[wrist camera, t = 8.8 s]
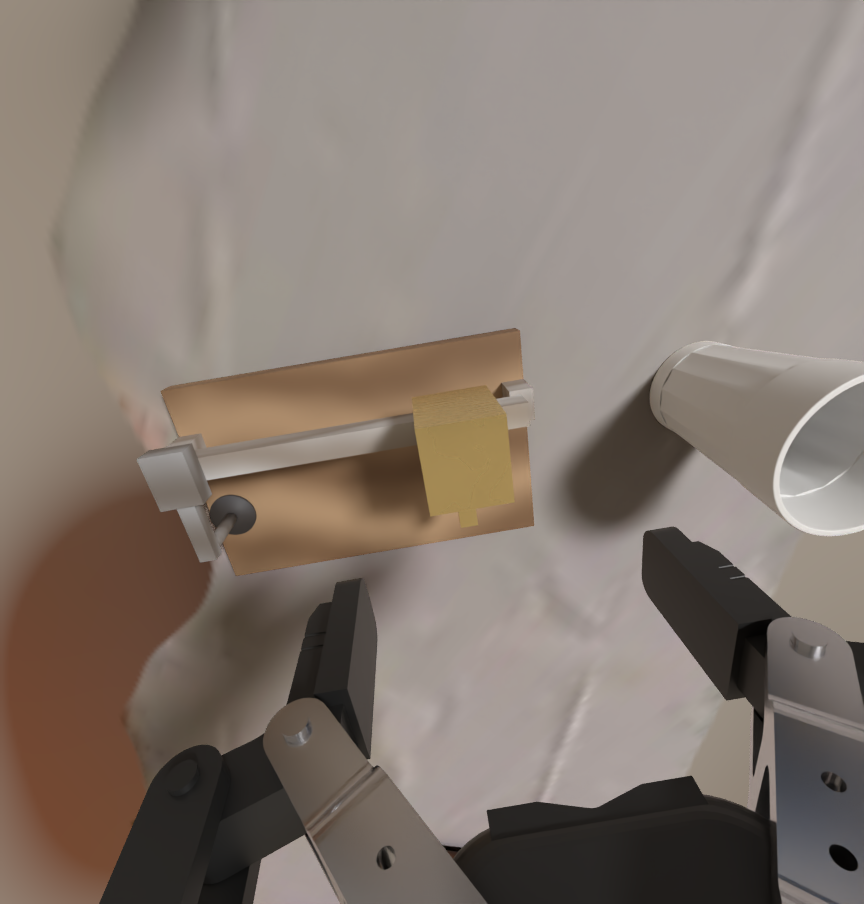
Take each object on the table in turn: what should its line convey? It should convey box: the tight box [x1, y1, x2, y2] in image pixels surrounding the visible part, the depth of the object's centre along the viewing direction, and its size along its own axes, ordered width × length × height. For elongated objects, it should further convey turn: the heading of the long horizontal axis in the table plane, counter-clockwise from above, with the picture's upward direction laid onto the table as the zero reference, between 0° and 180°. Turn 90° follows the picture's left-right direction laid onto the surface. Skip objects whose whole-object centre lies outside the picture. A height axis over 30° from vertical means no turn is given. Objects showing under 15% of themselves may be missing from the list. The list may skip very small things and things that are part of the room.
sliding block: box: [412, 385, 515, 528], centre depth 25 cm, size 8×4×9 cm, turn 9°
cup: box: [650, 341, 864, 536], centre depth 25 cm, size 8×8×12 cm
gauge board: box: [137, 328, 535, 576], centre depth 28 cm, size 14×22×6 cm, turn 99°
